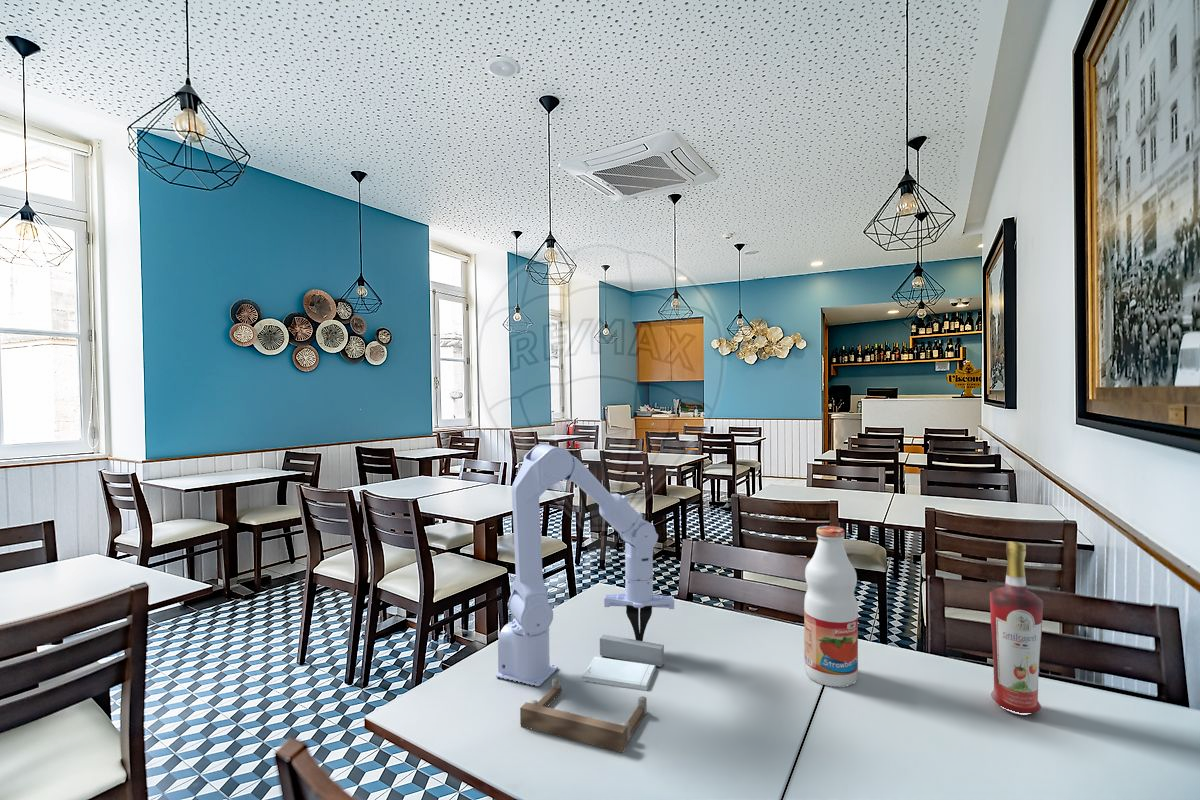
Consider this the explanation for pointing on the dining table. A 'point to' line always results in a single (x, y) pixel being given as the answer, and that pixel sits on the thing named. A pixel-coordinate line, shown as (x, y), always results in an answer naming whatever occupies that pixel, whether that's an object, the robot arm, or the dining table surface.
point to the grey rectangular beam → (632, 650)
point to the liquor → (1016, 637)
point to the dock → (579, 722)
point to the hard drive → (619, 673)
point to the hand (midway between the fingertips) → (639, 641)
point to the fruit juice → (831, 612)
